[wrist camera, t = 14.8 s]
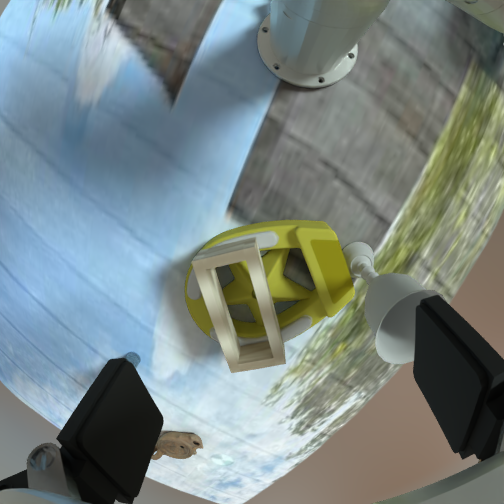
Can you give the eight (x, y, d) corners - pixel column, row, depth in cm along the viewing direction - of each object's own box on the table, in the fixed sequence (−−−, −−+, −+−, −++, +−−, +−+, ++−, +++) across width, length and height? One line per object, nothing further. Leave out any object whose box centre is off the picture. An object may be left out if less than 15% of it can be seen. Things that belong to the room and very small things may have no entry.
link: (199, 250, 35) (191, 261, 32) (255, 236, 35) (254, 246, 31) (234, 354, 40) (231, 373, 36) (284, 345, 39) (285, 363, 35)
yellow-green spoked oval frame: (354, 302, 41) (363, 319, 37) (222, 349, 45) (217, 370, 40) (316, 193, 37) (323, 198, 33) (170, 254, 41) (158, 267, 36)
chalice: (356, 293, 40) (406, 374, 23) (320, 267, 40) (358, 344, 22) (390, 253, 39) (461, 314, 21) (355, 223, 38) (419, 273, 20)
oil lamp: (194, 422, 50) (189, 441, 45) (213, 444, 52) (210, 462, 47) (142, 431, 52) (135, 448, 47) (163, 451, 54) (157, 467, 49)
